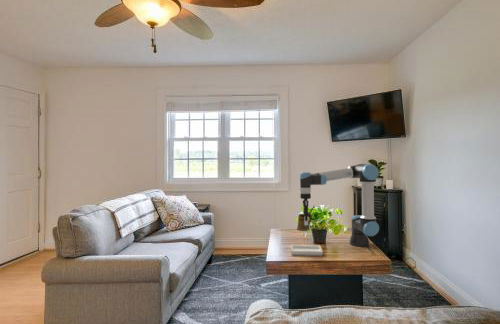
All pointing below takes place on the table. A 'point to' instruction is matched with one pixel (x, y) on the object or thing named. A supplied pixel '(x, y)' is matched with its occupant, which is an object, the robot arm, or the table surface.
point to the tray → (306, 250)
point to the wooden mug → (301, 222)
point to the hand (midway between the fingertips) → (305, 224)
